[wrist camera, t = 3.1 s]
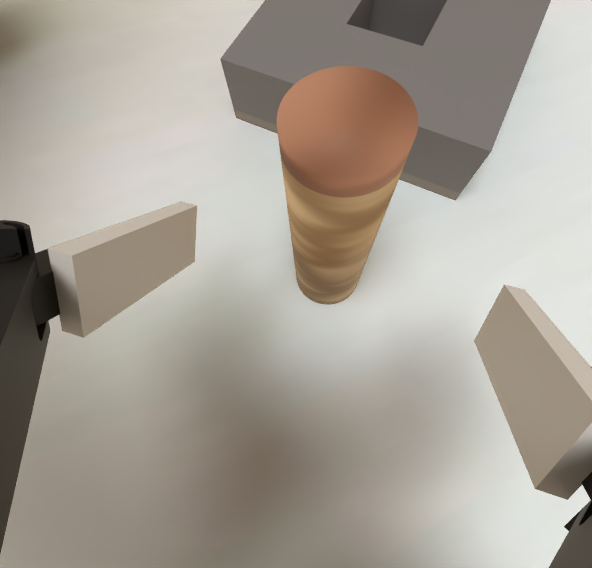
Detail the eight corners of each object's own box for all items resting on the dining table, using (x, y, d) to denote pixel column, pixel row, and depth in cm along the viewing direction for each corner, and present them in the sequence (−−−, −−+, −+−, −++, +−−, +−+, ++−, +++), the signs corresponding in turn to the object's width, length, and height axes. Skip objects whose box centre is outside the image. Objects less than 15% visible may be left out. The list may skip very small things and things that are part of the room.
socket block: (236, 117, 33) (220, 58, 27) (331, -19, 38) (334, -91, 33) (455, 200, 29) (490, 151, 23) (523, 34, 34) (565, -38, 29)
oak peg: (285, 288, 27) (251, 146, 12) (312, 237, 28) (313, 50, 13) (342, 314, 26) (386, 198, 11) (367, 261, 27) (438, 90, 12)
